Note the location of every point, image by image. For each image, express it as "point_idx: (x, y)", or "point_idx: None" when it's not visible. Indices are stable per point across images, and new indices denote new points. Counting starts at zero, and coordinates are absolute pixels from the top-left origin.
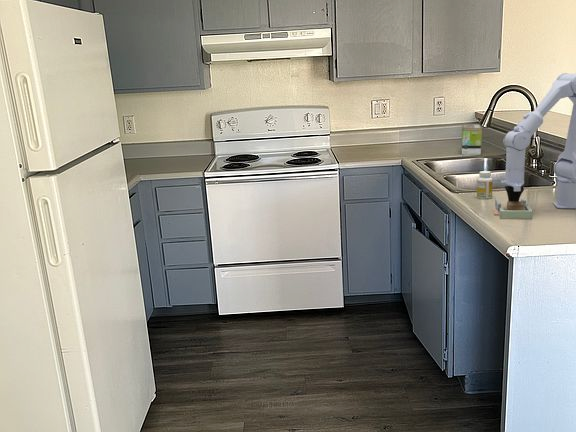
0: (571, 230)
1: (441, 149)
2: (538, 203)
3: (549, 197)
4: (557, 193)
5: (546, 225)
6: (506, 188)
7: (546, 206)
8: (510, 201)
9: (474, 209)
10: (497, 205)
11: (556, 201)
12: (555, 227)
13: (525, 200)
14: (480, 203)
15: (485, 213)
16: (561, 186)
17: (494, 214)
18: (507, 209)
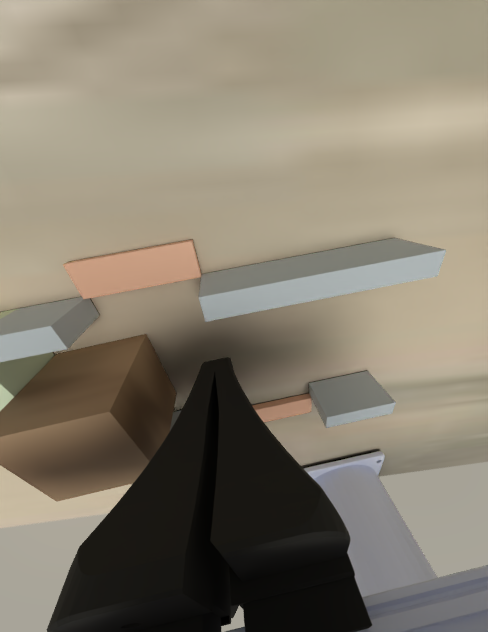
0: (12, 526)
1: None
2: (385, 418)
3: (465, 430)
4: (363, 526)
5: (24, 481)
6: (59, 624)
7: (334, 441)
8: (118, 429)
9: (220, 6)
10: (231, 282)
11: (347, 479)
12: (16, 500)
13: (333, 425)
14: (473, 88)
15: (92, 174)
16: (364, 594)
17: (65, 263)
18: (105, 366)
